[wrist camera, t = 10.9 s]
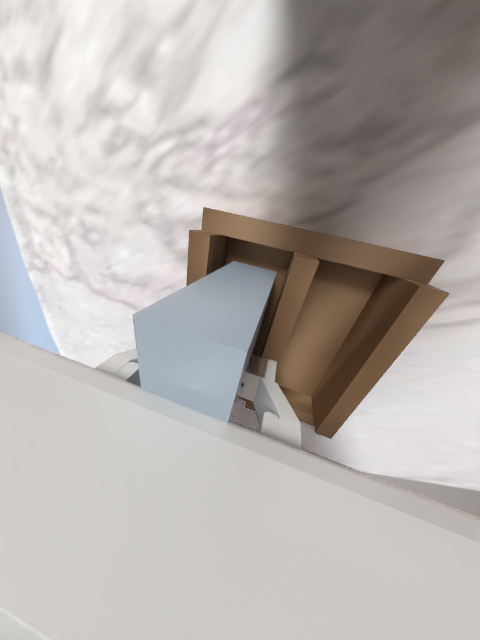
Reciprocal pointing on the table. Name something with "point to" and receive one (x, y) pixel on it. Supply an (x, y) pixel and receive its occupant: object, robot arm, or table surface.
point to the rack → (323, 308)
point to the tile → (203, 338)
